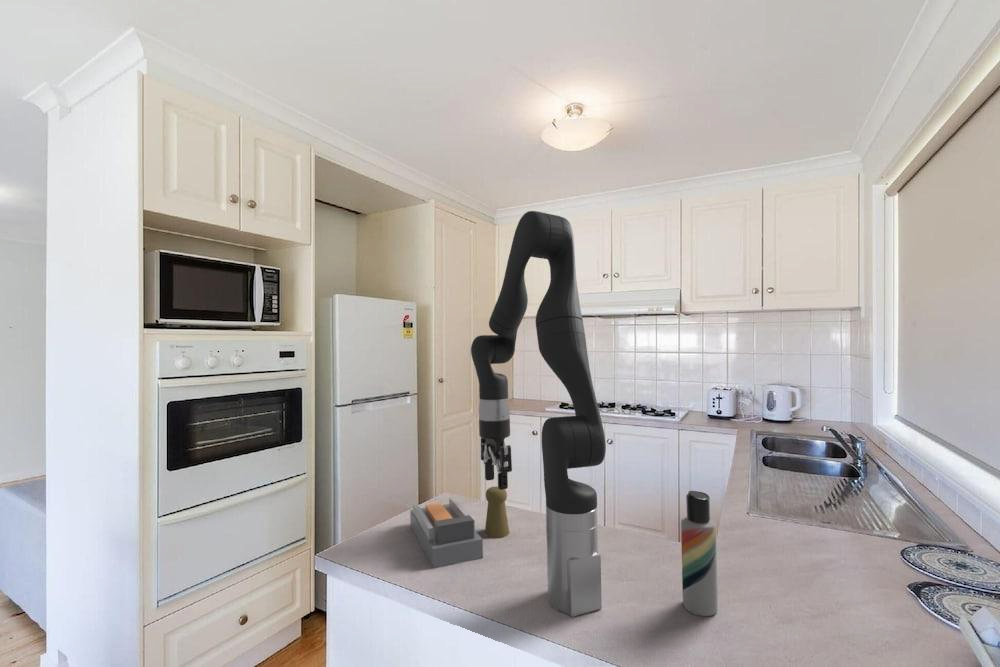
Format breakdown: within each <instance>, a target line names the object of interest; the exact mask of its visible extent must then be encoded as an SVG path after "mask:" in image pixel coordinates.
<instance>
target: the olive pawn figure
mask: <svg viewBox="0 0 1000 667" xmlns="http://www.w3.org/2000/svg"><path fill="white" fill-rule="evenodd" d="M485 491H486V492H485V499H486V501H487V509H486V518H485V526H484V527H485V528H484V535H485V534H486V535H487V536H486V535H485V536H486V537H488V538H490V539H502V538H505V536H506V537H508V536H509V535H510V529H509V522H508V515H507V508H506V501H507V497H508V493H507V490H506V489H503V490H500V489H499V488H498V485H497V486H491V487H489V488H487V490H485ZM508 534H509V535H508Z"/></svg>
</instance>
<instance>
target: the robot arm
mask: <svg viewBox="0 0 1000 667" xmlns="http://www.w3.org/2000/svg"><path fill="white" fill-rule="evenodd" d="M531 258H536V259H544V260H547V262H548V264H549V270H550V272H549V273H550V282H549V286H548V289H547V290H546V293H545V294H544V296H543V299H542V300H541V302H540V304H539V307H538V309H537V312H536V315H535V328H536V336H537V337H536V338H537V345H538V349H539V353H540V355H541V357H542V358H543V360H544V361H545V363H546V364H547V366H548V367H549V368H550V370H552V372H553V374H555V375H556V377H557V378H558V379H559V380H560V382H561V383H562V384H563V386H564V387H565V389H566V390H567V392H568V395H569V398H570V400H571V402H572V405H573V409H574V414H575V415H569V416H568V415H567V416H555V417H548V418H547V419H546V420H545V421H544V423H543V424H542V429H541V451H542V464H543V466H542V467H543V482H544V486H543V487H544V491H545V492H544V493H545V522H546V526H545V528H546V530H545V531H546V532H545V533H546V567H547V568H546V572H547V575H546V576H547V601H548V603H549V605H550V606H552V607H553V608H554V609H556V610H558V611H559V612H562V613H566V614H568V615H569V616H570V617H572V618H573V617H576V616H577V617H578V616H581V615H583V614H587V613H590V612H595V611H598V610H600V609H603V608H602V607H603V606H602V605H603V603H602V601H603V600H602V565H601V564H602V563H601V562H602V561H601V558H602V556H601V554H600V553H599V536H598V535H599V534H598V533H599V530H598V529H599V528H598V523H599V522H598V494H597V491H596V490H595V488H593V487H592V486H590V485H589V484H587V483H584V482H580V481H576V480H573V479H571V478H569V474H568V472H569V471H568V470H569V469H580V468H588V467H589V468H591V467H597V466H599V465H601V464H602V463H603V462H604V460H605V456H606V451H607V450H606V436H605V430H604V427H603V426H604V425H603V422H602V417H601V416H602V415H601V413H600V410H599V409H600V408H599V406H598V402H597V396H596V393H595V388H594V385H593V379H592V374H591V368H590V362H589V354H588V348H587V341H586V340H587V339H586V333H585V326H584V320H583V315H582V310H581V306H580V297H579V291H578V282H577V275H576V255H575V237H574V232H573V228H572V225H571V222H570V221H569V220H568V219H567V218H565V217H564V216H560V215H557V214H556V215H555V214H551V213H546V212H541V211H536V210H530V211H527V212H525V213H524V214H523V215H522V216H521V217H520V218H519V221H518V223H517V226H516V228H515V231H514V235H513V238H512V243H511V247H510V251H509V254H508V259H507V264H506V268H505V273H504V277H503V281H502V285H501V289H500V292H499V295H498V298H497V300H496V302H495V305H494V308H493V310H492V312H491V315H490V318H489V321H488V326H489V328H490V330H491V332H493V333H494V335H492V334H491V335H488V334H487V335H486V334H485V335H481V334H480V335H477V336H476V337H475V338H474V339H473V341H472V343H471V347H470V354H471V355H470V356H471V358H472V361H473V365H474V369H475V373H476V376H477V379H478V380H477V381H478V384H479V385H478V387H479V388H478V389H479V390H478V392H479V393H478V394H479V395H478V396H479V399H478V400H479V402H478V403H479V404H478V431H479V432H478V435H479V437H480V460H481V461H483V462H482V463H483V465H484V480H486V481H493V480H494V479H495V467H496V471H497V486H498V488H499V489H500V490H503V489H505V490H506V489H508V483H509V482H508V473H510V472H512V471H513V463H512V446H511V445H506V444H505V439H506V438H509V437H510V436H511V419H510V417H511V416H510V413H511V412H510V403H509V402H510V401H509V384H508V383H509V382H508V377H507V375H505V374H503V373H499V372H495V371H494V369H493V368H492V365H494V364H495V365H497V364H498V365H499V364H506V363H508V362H509V361H511V360H512V358H513V357H514V355H515V351H516V350H515V349H516V341H517V336H518V335H517V334H518V331H519V330H518V329H519V328H520V325H521V323H522V321H523V318H524V317H525V314H526V311H527V308H528V292H527V291H528V290H527V287H526V280H525V271H526V266H527V265H528V262H529V260H530V259H531Z"/></svg>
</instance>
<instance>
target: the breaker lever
mask: <svg viewBox="0 0 1000 667" xmlns="http://www.w3.org/2000/svg"><path fill="white" fill-rule="evenodd" d="M443 505H444V504H442V503H441V502H438V503H437V502H436V503H429V504H426V505H425V506H424V508H426V511H427V513H428V514H429V516H430V517H431V519H432V520H433V522H434V523H435V521H439V520H445V519H451V518H452V516H451V515H450V514H449V512H448V511H447V510H446V509H445V507H444V506H443Z"/></svg>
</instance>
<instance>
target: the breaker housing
mask: <svg viewBox="0 0 1000 667" xmlns="http://www.w3.org/2000/svg"><path fill="white" fill-rule="evenodd" d="M442 505H443V506H444V507H445V509H446V510H447V511H448V512H449V514H450V515H451V516H452V518H451V519H445V520H439V521H435V523H434V522H433V520H432V519H431V517H430V516H429V514H428V513H427V511H426V507H422V508H421V507H420V505H419V504H418V502H417V501H415V502H412V509H410V515H409V516H410V527H411V529H412V531H413V532H414V534H415V536H416V539H417V540H418V542H419V544H420V546H421V547H422V549H423V552H424V554H425V555H426V557H427V559H428V561H429V563H430V564H431V566H432V568H433V569H436V568H442V567H447V566H450V565H456V564H460V563H464V562H469V561H474V560H478V559H480V560H481V559H483V558H484V548H483V547H484V546H483V545H484V544H483V538H482V537H481V536H480V535H479V534H478V532H477V531H476V529H475V528H476V525H475V523H476V522H475V521H476V520H474V518H473V517H472V516H471V515H470V514H469V513H468V511H467V510H466V509H464V508H463V506H462V505H461V504H460V503H459V502H458V500H457V499H455V498H454V496H449V497H448V503H447V504H442Z"/></svg>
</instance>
